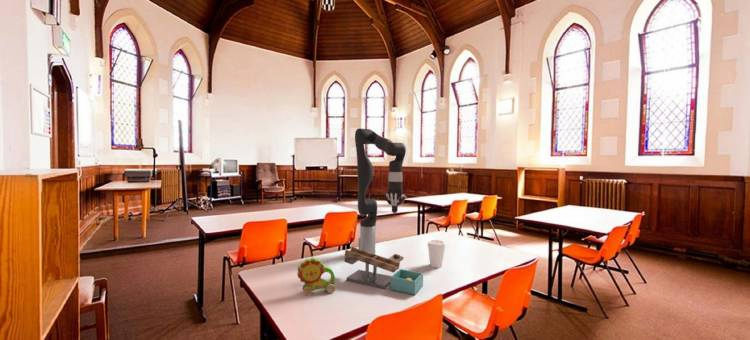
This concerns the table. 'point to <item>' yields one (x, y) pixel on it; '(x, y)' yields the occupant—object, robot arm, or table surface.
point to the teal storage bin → (407, 282)
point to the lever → (373, 259)
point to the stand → (370, 278)
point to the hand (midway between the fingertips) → (394, 212)
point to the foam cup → (436, 252)
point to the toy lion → (315, 276)
